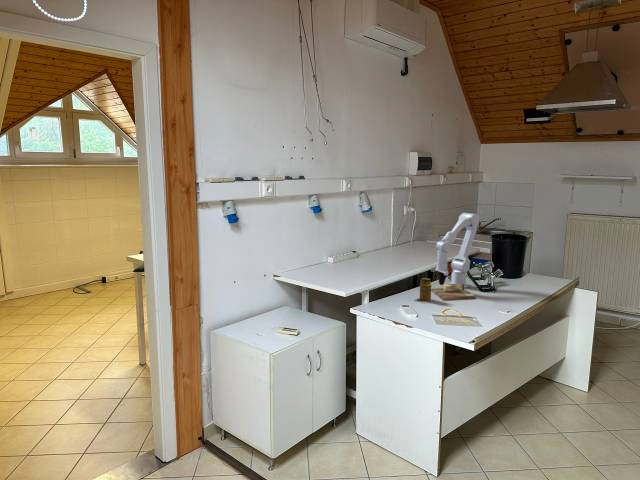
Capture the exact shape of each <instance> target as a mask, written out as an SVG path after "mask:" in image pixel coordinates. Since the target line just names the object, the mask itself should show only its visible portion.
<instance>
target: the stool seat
mask: <svg viewBox="0 0 640 480" xmlns="http://www.w3.org/2000/svg"><path fill="white" fill-rule="evenodd" d="M431 293H434V295H436V296H437V298H440V299H441V300H442V301H454V300H455V301H457V300H459V301H460V300H469V299H470V300H471V299H472V300H473V299H475V297H476V296H475V294H473V293H471V292H470V291H469V290H468V289H465V288H464V290H460V291H444V290H443V287H434V288H431Z"/></svg>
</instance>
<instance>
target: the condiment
mask: <svg viewBox="0 0 640 480" xmlns="http://www.w3.org/2000/svg"><path fill="white" fill-rule="evenodd" d="M431 281H432V280H431V278H429V277H422V278H420V283H419V298H416V299H414V301H415V302H419V303H424V304H426V303H430V302H431V301H434V299H433V298H432V291H431V289H432V283H431Z"/></svg>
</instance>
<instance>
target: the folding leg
mask: <svg viewBox="0 0 640 480" xmlns="http://www.w3.org/2000/svg"><path fill="white" fill-rule="evenodd" d="M442 288H443V290H444V291H460V290H464V289H465V288H464V284H450V283H446V284H445V283H444V284H443V285H442Z"/></svg>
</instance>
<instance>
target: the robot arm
mask: <svg viewBox="0 0 640 480" xmlns="http://www.w3.org/2000/svg"><path fill="white" fill-rule="evenodd" d="M479 222H480V218H479V215H478V214H477V213H470V212H469V213H468V212H462V213H461V214H459V216H458V220H457V222H456V223H455V225H454V227H453V228H452V229H451V231H447V232H446V234H445V235H444V237H443V238H442V239H441V240H439V241H437V242H436V244H435V247H434V248H435V250H436V254H437V256H436V257H437V259H436V260H437V261H436V266H435V269H434V271H436V272H435V274H436V276H437V279H438V283H439V285H440V286H443V284H445V281H446V278H447V277H448V276H449V271H448V257H449V256H448V255H449V254H448V252H449V251H450V249H451V246H452V244H453V242H455V240H457V235H458V233H460V231H461V230H462V229H463V228H464V227H465V229H466V231H465V235H464V238H463V240H462V242H461V246H460V250H459V251H458V254H457V255H455V256H454V258H453V260H451V263H450V267H451V269H452V271H451V281H450V282H449V284H464V289H465V288H469V286H468V285H467V273H468V271H469V270H470V267H471V266H470V264H471V260H470V259H469V255H470V252H471V248H472V247H473V246H472V245H473V242H474V240H475V236H476V233H477V231H478V226H479Z"/></svg>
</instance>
